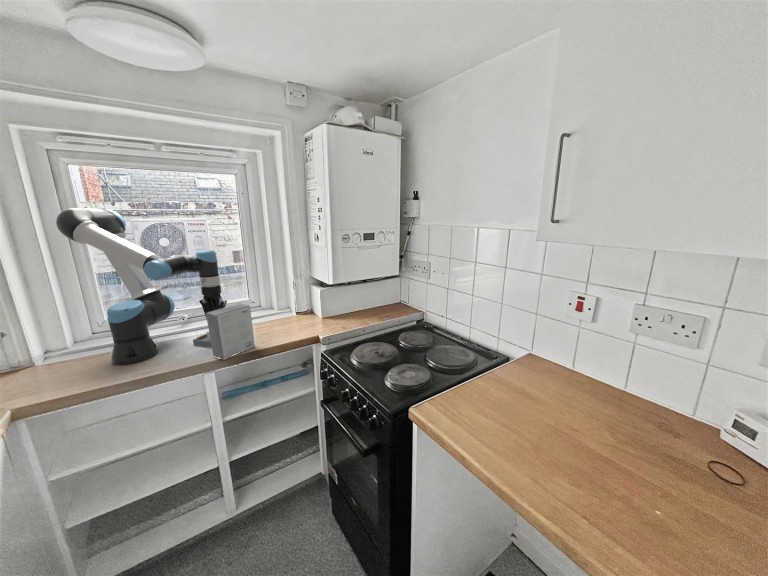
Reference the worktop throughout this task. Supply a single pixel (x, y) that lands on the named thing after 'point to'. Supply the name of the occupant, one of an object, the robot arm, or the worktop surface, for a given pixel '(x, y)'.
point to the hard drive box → (230, 330)
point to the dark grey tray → (202, 341)
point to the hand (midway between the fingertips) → (217, 334)
